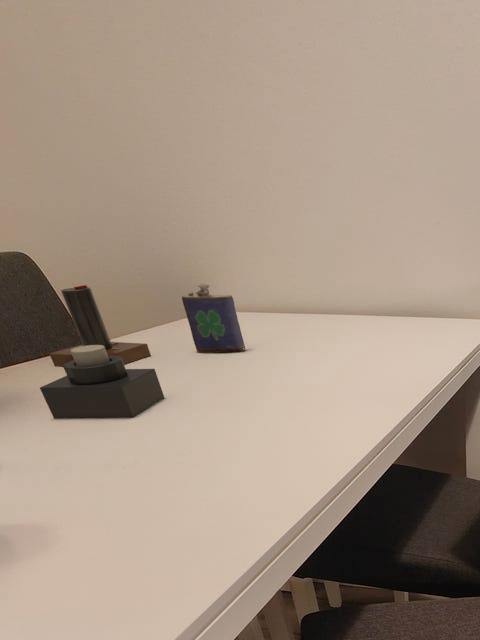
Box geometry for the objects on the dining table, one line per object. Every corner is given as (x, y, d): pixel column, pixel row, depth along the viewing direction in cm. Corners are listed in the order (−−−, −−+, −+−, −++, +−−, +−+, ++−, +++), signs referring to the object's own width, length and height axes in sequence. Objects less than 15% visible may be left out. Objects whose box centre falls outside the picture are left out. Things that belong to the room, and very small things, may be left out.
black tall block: (98, 351, 101) (74, 289, 95) (79, 350, 102) (53, 288, 96) (118, 345, 104) (95, 285, 98) (98, 344, 105) (75, 284, 99)
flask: (247, 349, 109) (231, 282, 102) (241, 352, 106) (223, 284, 100) (200, 349, 110) (180, 283, 103) (193, 353, 107) (172, 285, 101)
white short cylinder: (70, 369, 77) (63, 352, 75) (88, 361, 80) (81, 345, 78) (100, 368, 76) (93, 351, 75) (116, 361, 80) (110, 344, 78)
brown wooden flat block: (54, 365, 102) (48, 352, 101) (99, 352, 109) (94, 339, 108) (108, 369, 99) (103, 355, 98) (151, 355, 106) (146, 342, 105)
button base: (53, 419, 78) (31, 371, 75) (91, 399, 85) (73, 354, 82) (133, 418, 78) (114, 369, 74) (164, 398, 85) (149, 353, 81)
